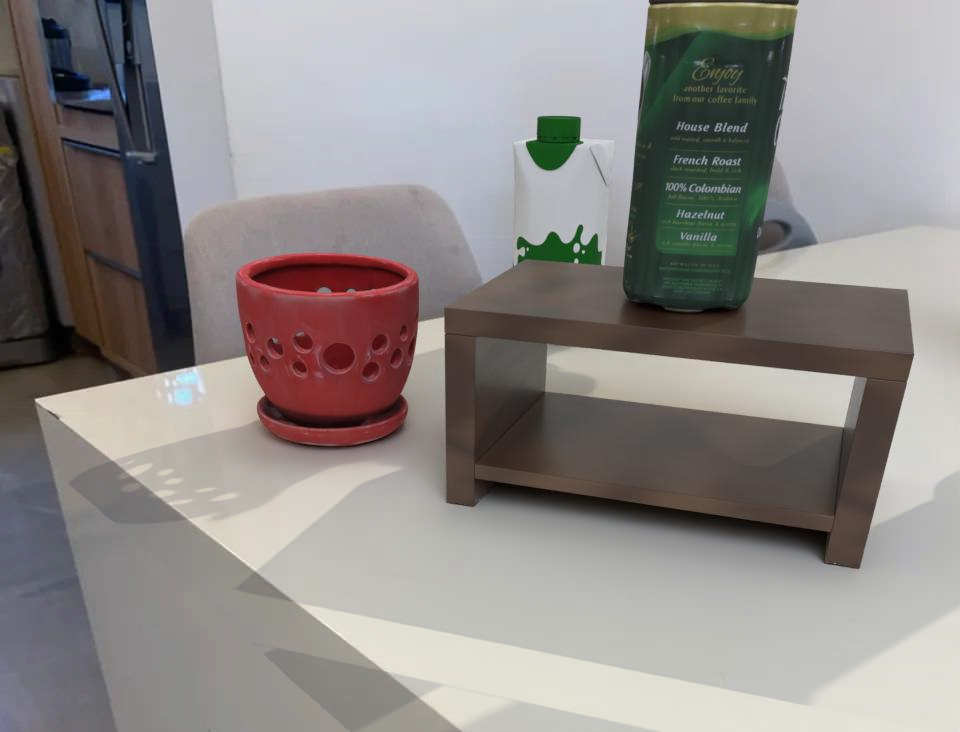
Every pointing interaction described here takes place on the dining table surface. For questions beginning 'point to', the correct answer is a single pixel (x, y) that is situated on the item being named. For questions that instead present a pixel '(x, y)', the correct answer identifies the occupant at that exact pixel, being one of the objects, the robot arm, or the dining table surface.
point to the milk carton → (561, 194)
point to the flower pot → (329, 344)
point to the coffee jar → (705, 149)
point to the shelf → (673, 430)
